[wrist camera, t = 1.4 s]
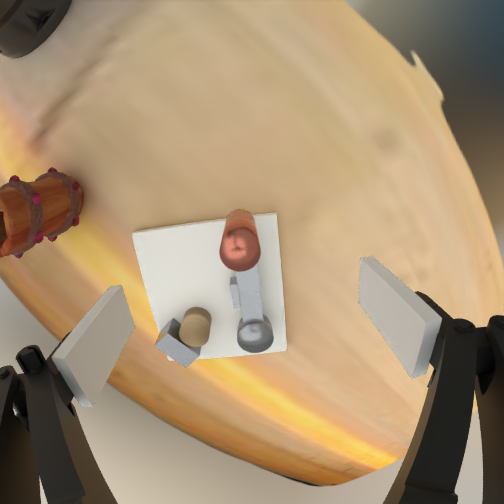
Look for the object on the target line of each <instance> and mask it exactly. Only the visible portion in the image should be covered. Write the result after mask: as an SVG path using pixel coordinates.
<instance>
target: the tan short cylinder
mask: <svg viewBox="0 0 504 504" xmlns="http://www.w3.org/2000/svg"><path fill="white" fill-rule="evenodd" d="M211 322H212V318H211V315H210V313H209V312H208V311H207V310H205V309H203V308H201V307H192V308H190V309H188V310H187V311H186V312H185V315H184V318H183V321H182V324H181V327H180V330H179V336H180V338H181V340H182V341H183V342H184V343H185V344H187V345H189V346H192V347H200V346H203V345H205V344H206V343H207V342H208V340H209V335H210V328H211Z"/></svg>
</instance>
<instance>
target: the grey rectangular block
mask: <svg viewBox="0 0 504 504" xmlns="http://www.w3.org/2000/svg"><path fill="white" fill-rule="evenodd" d="M180 327H181V323H179V322H178V321H177V320H175V319H174V318H172V319H171V320H170V321H169V322H168V324H167V325H166V326H165V327H164V328H163V329H162V330H161V331H160V334H159V336H158V339H157V341H156V343H155V347H156V348H158V349H159V350H160V351H162V352H163V353H165V354H166V355H168V356H169V357H170V358H172V359H173V360H175V361H176V362H178V363H179V364H181V365H182V366H184V367H185V368H186V367H187V366H189V365H190V364H191V363H192V362H193V361H194V360H196V359H197V358H198V357H199V356H200V351H201V346H200V347H192V346H189V345H187V344H185V343H184V342H183V341H182V340H181V338H180V336H179V330H180Z"/></svg>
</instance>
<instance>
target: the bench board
mask: <svg viewBox="0 0 504 504" xmlns="http://www.w3.org/2000/svg"><path fill="white" fill-rule="evenodd" d="M253 217H254V220H255V224H256V229H257V234H258V239H259V244H260V249H261V255H260V259H259V261H258V263H257V269H258V277H259V286H260V295H261V303H262V312H263V317H265V318H266V319H268V320H269V321H270V323H271V325H272V330H273V335H274V341H273V343H272V345H271V346H270V348H268V349H267V350H265V351H263V352H260V353H250V352H247V351H245V350H243V349H242V348H241V347H240V346H239V345H238V342H237V328H238V325H239V323H240V322H241V321H242V320H243V318H242V312H241V308H236V309H234V308H233V302H232V296H231V290H230V278H231V277H236V273H235V271H233V270H231V269H229V268H227V267H226V266H225V265H224V264H223V262H222V261H221V259H220V255H219V249H220V245H221V240H222V236H223V231H224V227H225V223H226V219H227V218H222V219H214V220H207V221H199V222H192V223H185V224H178V225H171V226H164V227H158V228H151V229H145V230H139V231H134V232H133V233H132V238H133V242H134V246H135V251H136V255H137V259H138V263H139V267H140V271H141V274H142V278H143V282H144V285H145V289H146V292H147V296H148V299H149V303H150V306H151V309H152V313H153V316H154V319H155V322H156V325H157V328H158V331H159V334H160V331H161V330H162V329H163V328H164V327H165V326H166V325H167V324H168V322H169V321H170V320H171V319H172V318H174V319H175V320H177V321H178V322H179V323H181V324H182V321H183V318H184V315H185V312H186V311H187V310H188V309H190V308H192V307H201V308H203V309H205V310H207V311H208V312H209V313H210V315H211V318H212V322H211V328H210V335H209V340H208V342H207V343H206V344H205V345H203V346H201V351H200V356H199V357H198V358H197V359H208V358H222V357H234V356H244V355H254V354H263V353H271V352H279V351H286V350H287V342H286V326H285V312H284V298H283V284H282V272H281V259H280V248H279V236H278V225H277V214H276V213H275V212H272V213H263V214H255V215H253ZM167 357H168V360H173V359H172V358H170V357H169V356H168V355H167Z"/></svg>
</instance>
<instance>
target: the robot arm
mask: <svg viewBox="0 0 504 504" xmlns="http://www.w3.org/2000/svg"><path fill="white" fill-rule="evenodd" d="M71 1H72V0H0V53H1V54H2V55H4V56H8V57H12V58H18V57H22V56H24V55H26V54H28V53H30V52H31V51H33V50H34V49H35V48H37V47H38V46H39V45H40V44H41V43H42V42H43V41H44V40H45V39H46V38H47V37H48V36H49V35H50V34H51V33H52V32H53V31H54V29H55V28H56V27H57V25H58V24H59V23H60V21H61V20H62V18H63V17H64V15H65V13H66V12H67V10H68V8H69V6H70V3H71ZM358 303H359V304H360V306H361V307H362V308H363V310H364V311H365V312H366V314H367V315H368V317H369V318H370V319H371V321H372V322H373V324H374V325H375V326H376V328H377V329H378V331H379V332H380V334H381V335H382V336H383V338H384V339H385V341H386V342H387V344H388V345H389V347H390V348H391V349H392V351H393V352H394V354H395V355H396V357H397V358H398V360H399V361H400V363H401V364H402V366H403V367H404V369H405V370H406V372H407V373H408V375H409V376H410V378H411V379H412V378H415V377H418V376H421V375H423V374H426V372H427V369H428V366H429V363H430V364H431V365H432V366H433V367H434V370H433V373H432V376H431V378H430V381H429V384H428V386H427V387H429V388H428V392H427V396H426V399H425V403H424V406H423V409H422V412H421V416H420V419H419V422H418V425H417V428H416V430H415V433H414V436H413V439H412V441H411V444H410V446H409V449H408V452H407V454H406V456H405V459H404V461H403V463H402V466H401V468H400V470H399V472H398V475H397V477H396V479H395V481H394V483H393V485H392V487H391V489H390V491H389V493H388V495H387V497H386V499H385V501H384V503H383V504H457V502H458V496H457V495H456V494H455V491H454V490H455V486H456V483H457V479H458V476H459V472H460V469H461V465H462V461H463V457H464V453H465V448H466V443H467V439H468V433H469V428H470V422H471V416H472V408H473V400H474V390H475V394H476V400H477V406H478V413H479V419H480V429H481V438H482V453H483V502H482V504H504V316H502V315H501V316H500V315H495V316H492V317H491V318H490V320H489V322H488V326H487V327H479V328H476V327H475V325H474V324H473V323H472V322H470V321H468V320H465V319H458V318H457V319H453V318H452V317H451V316H450V315H448V314H447V313H446V312H445V311H444V310H443V309H442V308H441V307H440V306H438V305H437V304H436V303H435V302H433V300H432V299H431V298H430V297H428V296H427V295H425V294H423V293H421V292H419V291H417V292H413V291H412V290H411V289H410V288H409V287H408V286H407V285H406V284H405V283H403V282H402V281H401V280H400V279H399V278H398V277H397V276H395V275H394V274H393V273H392V272H391V271H390V270H389V269H387V268H386V267H385V266H384V265H383V264H382V263H380V262H379V261H378V260H377V259H376V258H374V257H373V256H370V257H362V258H360V280H359V299H358ZM134 328H135V324H134V321H133V318H132V315H131V312H130V309H129V306H128V303H127V300H126V297H125V294H124V290H123V287H122V285H119V286H110V288H109V289H108V290H107V291H106V292H105V293H104V294H103V295H102V297H101V298H100V299H99V300H98V301H97V302H96V303H95V304H94V306H93V307H92V308H91V309H90V310H89V311H88V313H87V314H86V315H85V316H84V317H83V318H82V320H81V321H80V322H79V323H78V324H77V326H76V327H75V328H74V329H73V330H72V331H71V332H69V333H68V334H67V335H66V336H65V337H64V338H63V340H62V342H60V343H59V345H58V347H56V348H55V350H54V351H53V352H52V353H51V355H50V356H49V357H48V358H47V360H45V358H44V356H43V354H42V352H41V350H40V348H39V347H38V346H37V345H30V346H27V347H25V348H23V349H22V350H21V351H19V353H18V354H17V355H16V360H17V362H18V363H19V365H20V367H21V369H22V370H23V372H24V373H23V374H17V373H16V371H15V370H14V368H13V366H4V367H1V368H0V504H41V498H40V481H39V475H40V479H41V483H42V486H43V489H44V493H45V496H46V499H47V502H48V504H118V503H117V501H116V499H115V498H114V496H113V494H112V492H111V491H110V489H109V487H108V485H107V483H106V481H105V479H104V477H103V475H102V473H101V471H100V469H99V467H98V465H97V463H96V461H95V459H94V456H93V454H92V452H91V450H90V447H89V444H88V442H87V440H86V437H85V435H84V432H83V429H82V427H81V424H80V421H79V419H78V416H77V413H76V410H75V407H74V406H73V404H72V403H71V401H72V399H73V397H75V398H76V400H77V401H78V403H79V404H80V405H81V406H87V407H94V405H95V403H96V401H97V399H98V397H99V395H100V393H101V391H102V389H103V387H104V385H105V383H106V381H107V379H108V377H109V375H110V373H111V371H112V369H113V367H114V365H115V363H116V362H117V360H118V358H119V356H120V354H121V352H122V350H123V348H124V347H125V345H126V343H127V341H128V339H129V337H130V336H131V334H132V332H133V330H134ZM13 408H14V409H15V411H16V412H17V414H16V415H15V414H14V411H13Z"/></svg>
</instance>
